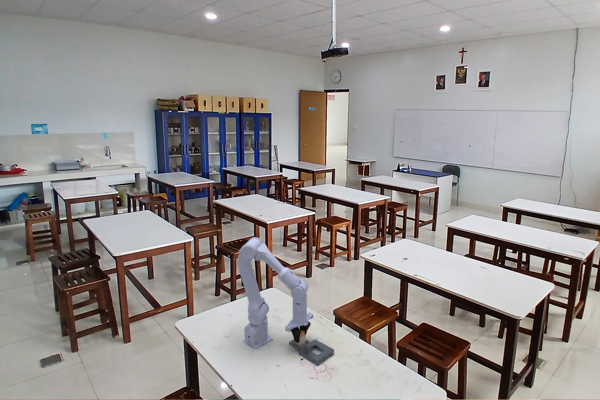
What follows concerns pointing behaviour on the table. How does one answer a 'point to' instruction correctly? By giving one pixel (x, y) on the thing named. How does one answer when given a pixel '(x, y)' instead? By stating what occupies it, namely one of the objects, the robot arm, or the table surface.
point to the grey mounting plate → (296, 344)
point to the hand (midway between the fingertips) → (299, 340)
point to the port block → (313, 357)
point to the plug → (301, 339)
